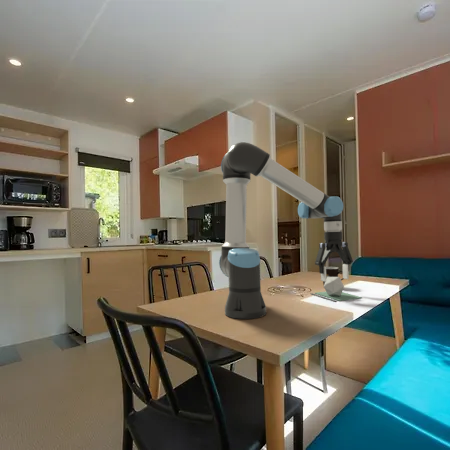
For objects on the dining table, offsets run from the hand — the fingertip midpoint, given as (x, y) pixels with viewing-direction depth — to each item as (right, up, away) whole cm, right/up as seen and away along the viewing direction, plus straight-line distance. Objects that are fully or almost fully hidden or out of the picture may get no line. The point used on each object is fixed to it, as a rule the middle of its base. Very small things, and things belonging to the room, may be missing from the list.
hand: (334, 279), depth 127 cm
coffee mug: (+5, -8, +18) cm, 20 cm away
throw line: (-6, -7, -3) cm, 10 cm away
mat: (+1, -7, 0) cm, 7 cm away
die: (0, -6, 0) cm, 7 cm away
